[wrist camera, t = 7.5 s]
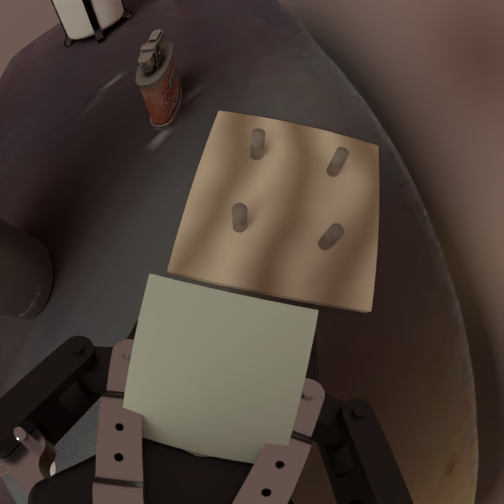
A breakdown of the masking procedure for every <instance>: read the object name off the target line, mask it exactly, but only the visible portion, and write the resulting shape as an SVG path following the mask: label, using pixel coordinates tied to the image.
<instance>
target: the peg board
mask: <svg viewBox="0 0 504 504" xmlns="http://www.w3.org/2000/svg"><path fill="white" fill-rule="evenodd" d="M378 229H379V150H378V146H377V145H374V144H371V143H367V142H364V141H361V140H358V139H354V138H351V137H347V136H344V135H340V134H336V133H332V132H329V131H325V130H321V129H317V128H312V127H308V126H304V125H299V124H295V123H290V122H285V121H280V120H275V119H270V118H264V117H258V116H252V115H246V114H239V113H232V112H225V111H218V114H217V116H216V119H215V122H214V124H213V127H212V130H211V132H210V135H209V138H208V141H207V143H206V146H205V149H204V152H203V155H202V158H201V161H200V163H199V166H198V169H197V172H196V175H195V178H194V181H193V184H192V188H191V191H190V194H189V197H188V200H187V203H186V207H185V210H184V213H183V217H182V220H181V223H180V227H179V230H178V234H177V237H176V241H175V244H174V248H173V252H172V255H171V259H170V263H169V266H168V270H167V271H168V272H169V273H170V274H171V275H175V276H180V277H184V278H188V279H193V280H197V281H202V282H206V283H211V284H215V285H220V286H225V287H229V288H234V289H239V290H244V291H249V292H253V293H258V294H263V295H268V296H274V297H279V298H284V299H289V300H294V301H300V302H305V303H311V304H316V305H322V306H327V307H333V308H339V309H345V310H351V311H357V312H363V313H366V312H371V310H372V302H373V293H374V284H375V274H376V262H377V248H378Z"/></svg>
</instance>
